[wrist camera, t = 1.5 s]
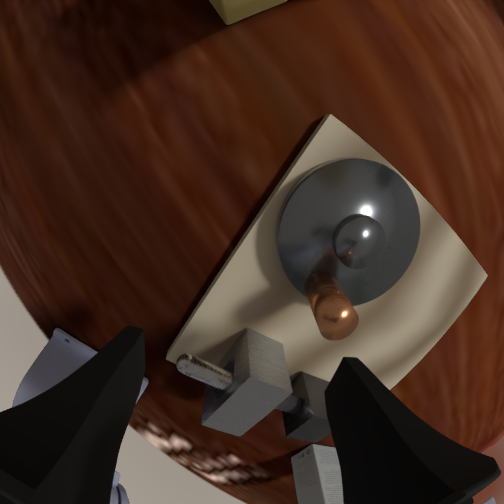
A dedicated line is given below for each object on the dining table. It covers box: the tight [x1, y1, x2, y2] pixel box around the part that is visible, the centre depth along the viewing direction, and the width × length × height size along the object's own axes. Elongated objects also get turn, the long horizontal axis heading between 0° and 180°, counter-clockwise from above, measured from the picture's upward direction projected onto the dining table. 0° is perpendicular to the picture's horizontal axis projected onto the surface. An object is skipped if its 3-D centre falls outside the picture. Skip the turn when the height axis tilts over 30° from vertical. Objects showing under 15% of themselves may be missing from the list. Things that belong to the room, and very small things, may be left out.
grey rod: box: [176, 353, 331, 443], centre depth 18 cm, size 12×3×4 cm, turn 57°
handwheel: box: [276, 157, 421, 341], centre depth 14 cm, size 9×9×5 cm
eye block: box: [202, 327, 292, 436], centre depth 18 cm, size 3×6×5 cm, turn 147°
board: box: [166, 114, 487, 390], centre depth 20 cm, size 20×20×1 cm
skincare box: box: [291, 444, 344, 504], centre depth 23 cm, size 6×4×12 cm
